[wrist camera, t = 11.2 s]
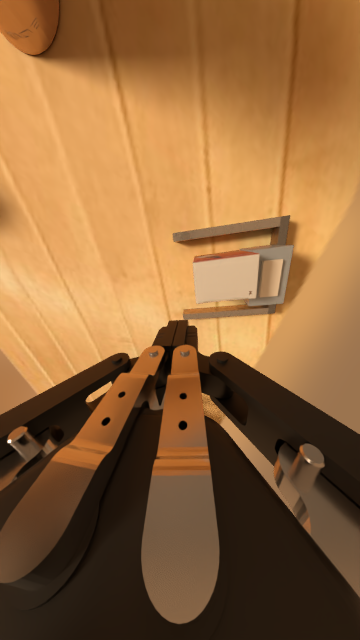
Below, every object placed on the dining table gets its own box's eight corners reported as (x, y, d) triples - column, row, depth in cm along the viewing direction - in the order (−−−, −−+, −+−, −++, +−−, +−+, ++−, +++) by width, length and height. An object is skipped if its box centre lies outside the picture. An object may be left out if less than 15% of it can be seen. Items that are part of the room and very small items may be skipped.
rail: (174, 234, 26) (172, 233, 24) (281, 218, 24) (290, 215, 22) (184, 314, 33) (183, 319, 31) (269, 308, 31) (274, 313, 28)
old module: (239, 249, 26) (254, 250, 20) (270, 245, 26) (296, 245, 19) (237, 293, 30) (249, 307, 23) (264, 290, 29) (285, 304, 22)
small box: (239, 249, 27) (262, 252, 17) (238, 281, 29) (258, 299, 20) (193, 255, 28) (192, 261, 18) (196, 286, 30) (195, 304, 21)
